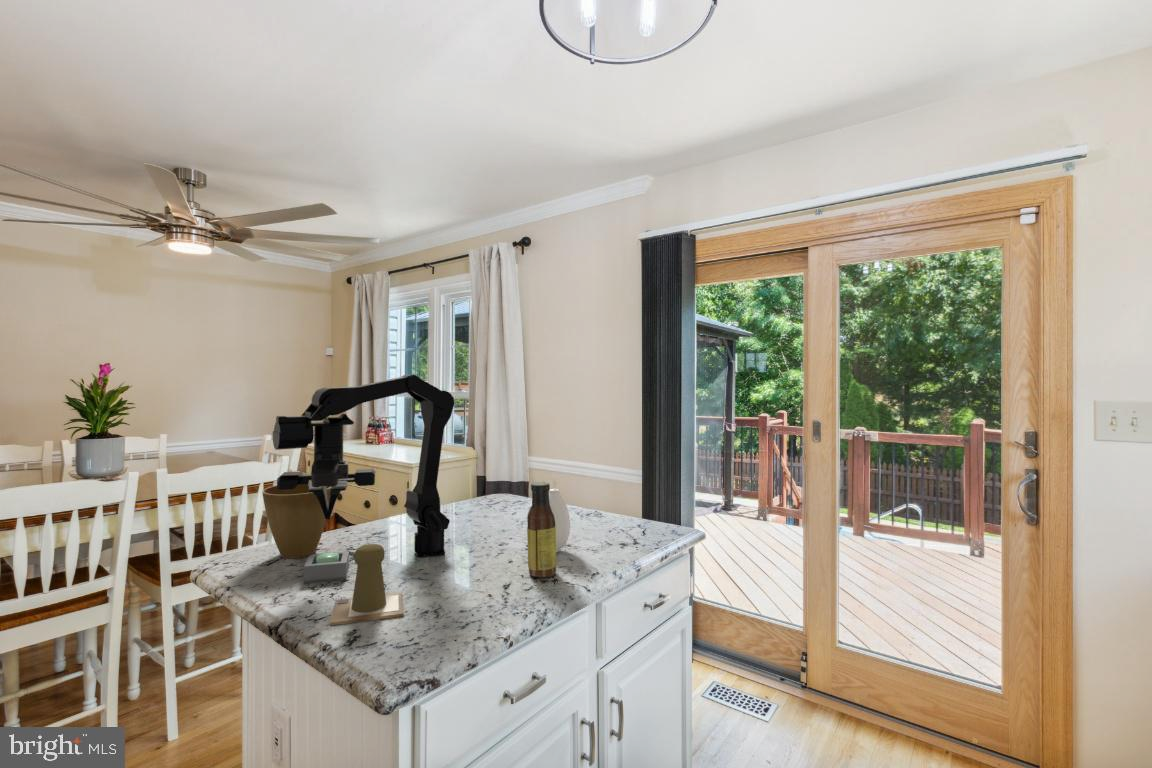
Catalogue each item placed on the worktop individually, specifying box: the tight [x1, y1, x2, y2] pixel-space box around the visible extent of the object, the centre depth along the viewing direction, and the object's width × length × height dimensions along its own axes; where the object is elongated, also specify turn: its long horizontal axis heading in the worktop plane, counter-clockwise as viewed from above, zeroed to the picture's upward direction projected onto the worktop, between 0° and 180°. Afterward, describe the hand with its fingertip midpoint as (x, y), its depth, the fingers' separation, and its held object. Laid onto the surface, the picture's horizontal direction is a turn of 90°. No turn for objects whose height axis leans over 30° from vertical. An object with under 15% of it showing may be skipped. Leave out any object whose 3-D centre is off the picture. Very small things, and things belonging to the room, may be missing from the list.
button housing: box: [303, 550, 350, 584], centre depth 115 cm, size 8×8×4 cm
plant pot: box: [261, 484, 332, 559], centre depth 128 cm, size 15×15×16 cm
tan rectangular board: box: [329, 591, 405, 626], centre depth 98 cm, size 12×10×1 cm
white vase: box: [549, 479, 571, 552], centre depth 133 cm, size 8×8×18 cm
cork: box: [351, 543, 386, 612], centre depth 98 cm, size 6×6×11 cm
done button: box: [316, 552, 339, 564], centre depth 115 cm, size 4×4×3 cm
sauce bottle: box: [526, 481, 558, 579], centre depth 117 cm, size 7×6×20 cm
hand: (327, 519), depth 115 cm, fingers closed
